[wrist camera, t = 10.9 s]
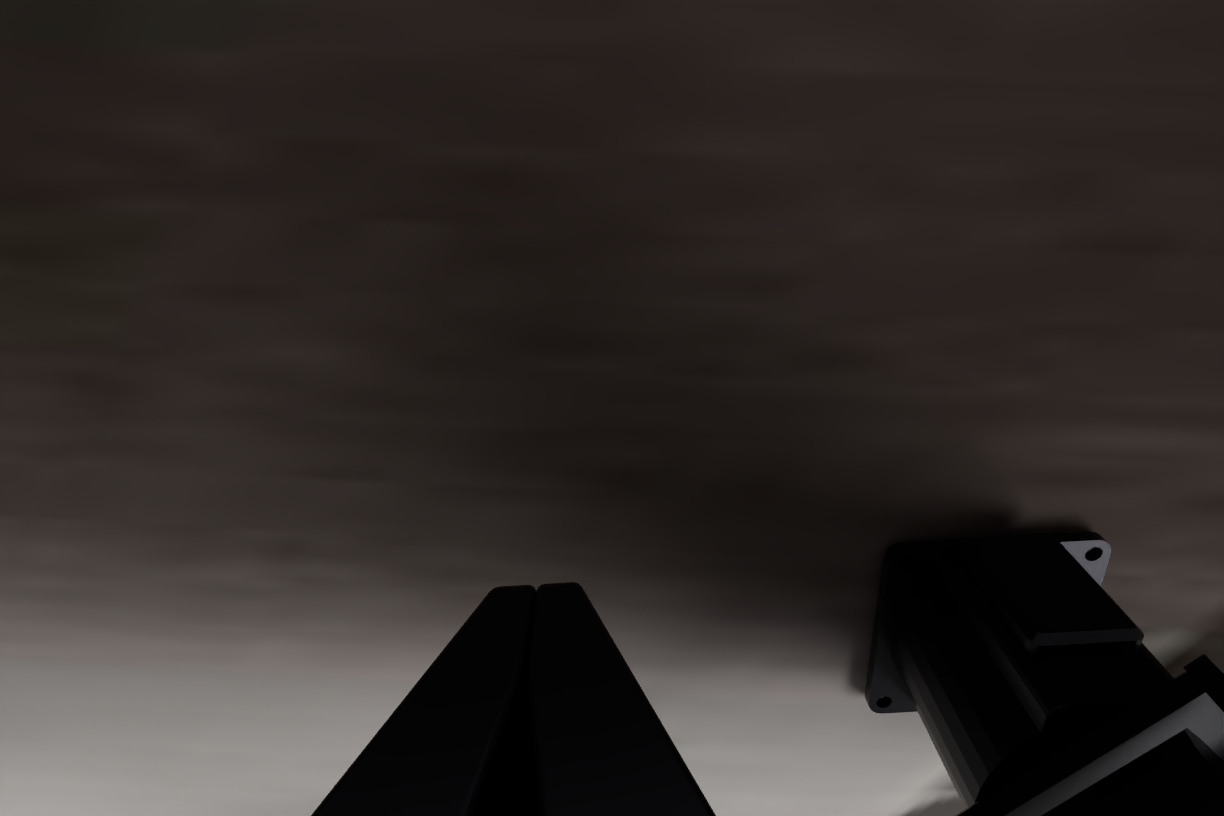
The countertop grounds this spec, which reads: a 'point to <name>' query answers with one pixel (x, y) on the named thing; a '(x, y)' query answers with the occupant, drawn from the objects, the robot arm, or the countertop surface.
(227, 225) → the countertop surface
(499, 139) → the countertop surface
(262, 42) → the countertop surface
